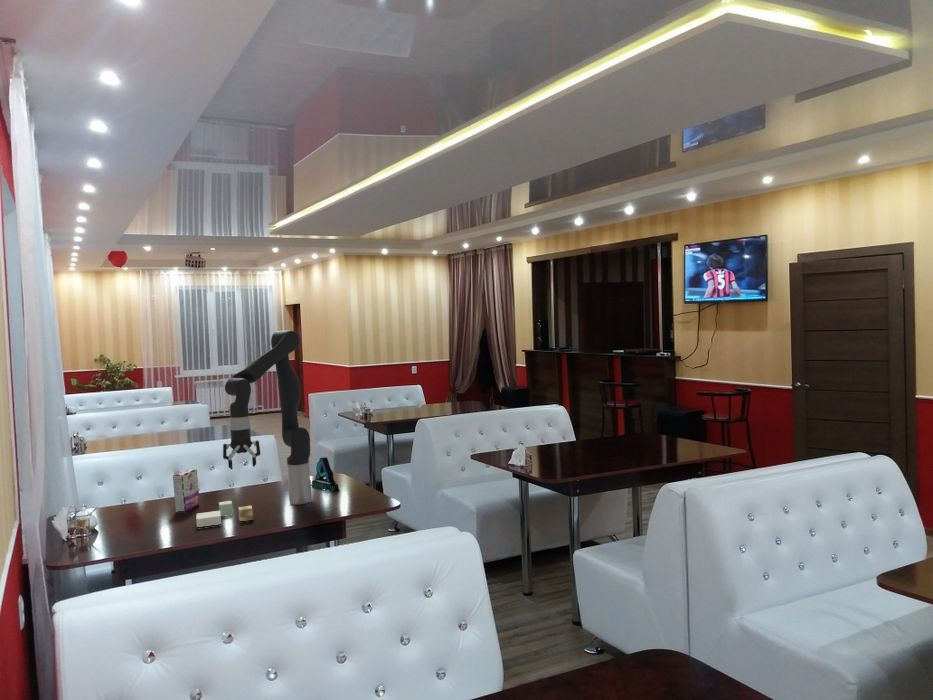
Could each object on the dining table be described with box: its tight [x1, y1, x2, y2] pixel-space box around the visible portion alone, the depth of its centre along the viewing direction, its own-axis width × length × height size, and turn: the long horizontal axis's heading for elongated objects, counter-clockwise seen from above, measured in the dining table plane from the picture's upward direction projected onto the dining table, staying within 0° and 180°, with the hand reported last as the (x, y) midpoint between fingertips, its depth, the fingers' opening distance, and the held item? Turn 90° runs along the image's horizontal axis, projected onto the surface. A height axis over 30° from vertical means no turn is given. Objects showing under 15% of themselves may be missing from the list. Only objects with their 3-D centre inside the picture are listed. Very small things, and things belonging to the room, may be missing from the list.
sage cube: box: [218, 500, 234, 517], centre depth 294 cm, size 5×5×5 cm
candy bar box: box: [172, 468, 201, 513], centre depth 306 cm, size 11×5×16 cm, turn 168°
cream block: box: [195, 510, 222, 528], centre depth 281 cm, size 9×9×4 cm
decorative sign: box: [311, 456, 340, 493], centre depth 330 cm, size 19×2×15 cm, turn 46°
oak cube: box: [238, 505, 254, 522], centre depth 285 cm, size 5×5×5 cm
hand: (242, 467), depth 284 cm, fingers open, 8 cm apart
